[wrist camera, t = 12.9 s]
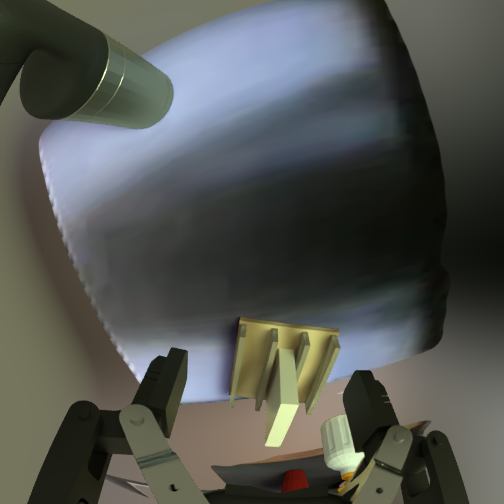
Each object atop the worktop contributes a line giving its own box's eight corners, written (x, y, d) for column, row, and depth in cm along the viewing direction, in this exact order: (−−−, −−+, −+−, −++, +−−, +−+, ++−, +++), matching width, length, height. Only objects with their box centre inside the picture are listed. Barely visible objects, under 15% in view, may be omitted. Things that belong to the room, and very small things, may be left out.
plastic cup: (307, 478, 63) (309, 508, 51) (274, 478, 63) (273, 509, 52) (318, 465, 59) (321, 498, 48) (281, 465, 59) (281, 500, 48)
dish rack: (229, 391, 48) (226, 408, 44) (240, 316, 42) (237, 333, 38) (309, 399, 48) (311, 416, 44) (338, 329, 42) (343, 345, 38)
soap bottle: (312, 428, 52) (321, 521, 29) (343, 408, 49) (363, 507, 26) (336, 437, 53) (349, 521, 30) (366, 419, 51) (388, 506, 28)
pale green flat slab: (266, 394, 47) (264, 445, 36) (279, 348, 43) (280, 403, 32) (278, 395, 47) (279, 446, 36) (293, 349, 43) (298, 404, 32)
